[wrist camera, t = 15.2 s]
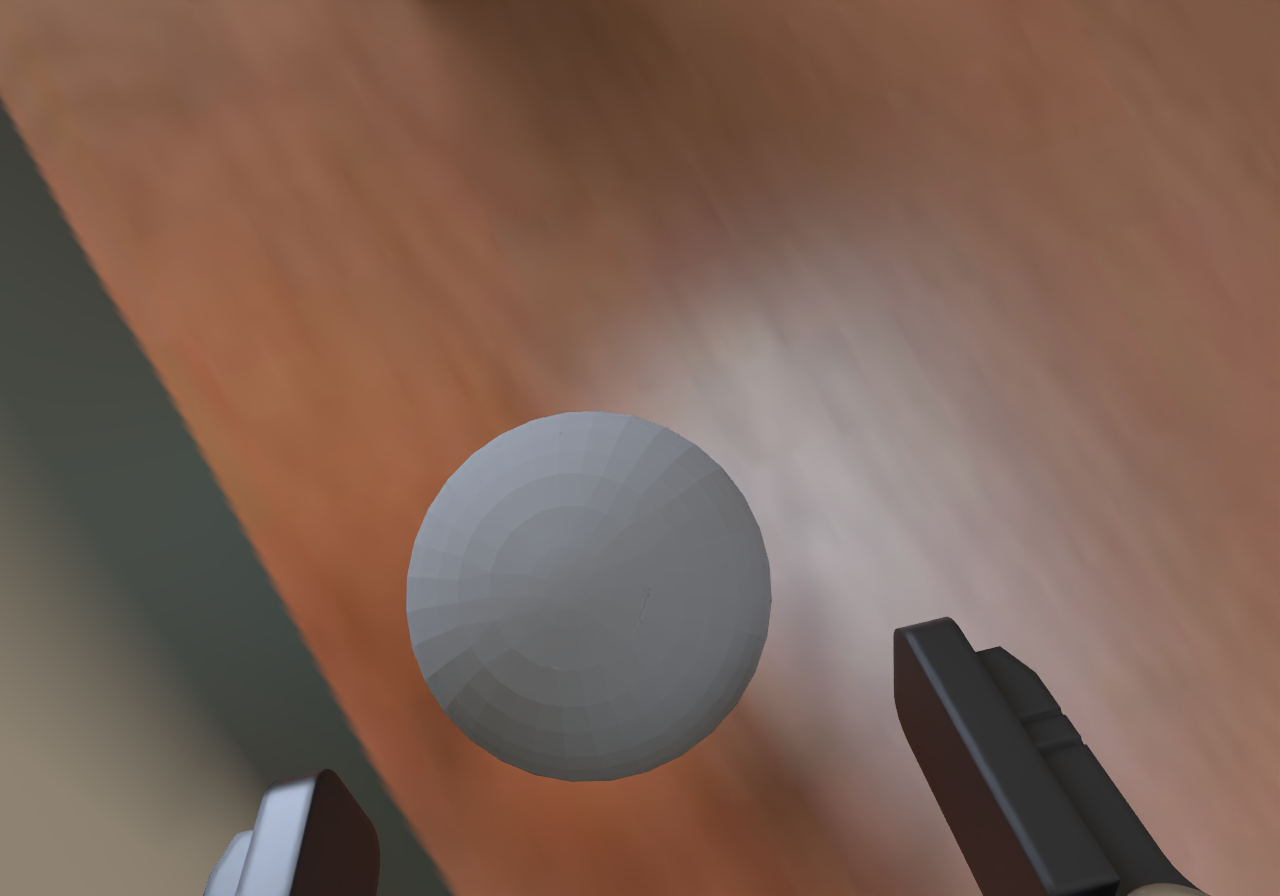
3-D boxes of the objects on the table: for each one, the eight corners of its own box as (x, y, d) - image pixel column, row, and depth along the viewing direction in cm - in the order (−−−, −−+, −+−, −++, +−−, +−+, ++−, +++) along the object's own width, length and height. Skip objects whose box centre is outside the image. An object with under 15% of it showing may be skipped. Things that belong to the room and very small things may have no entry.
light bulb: (688, 445, 21) (705, 308, 11) (768, 666, 20) (868, 736, 10) (474, 519, 21) (294, 449, 11) (542, 747, 19) (411, 900, 10)
